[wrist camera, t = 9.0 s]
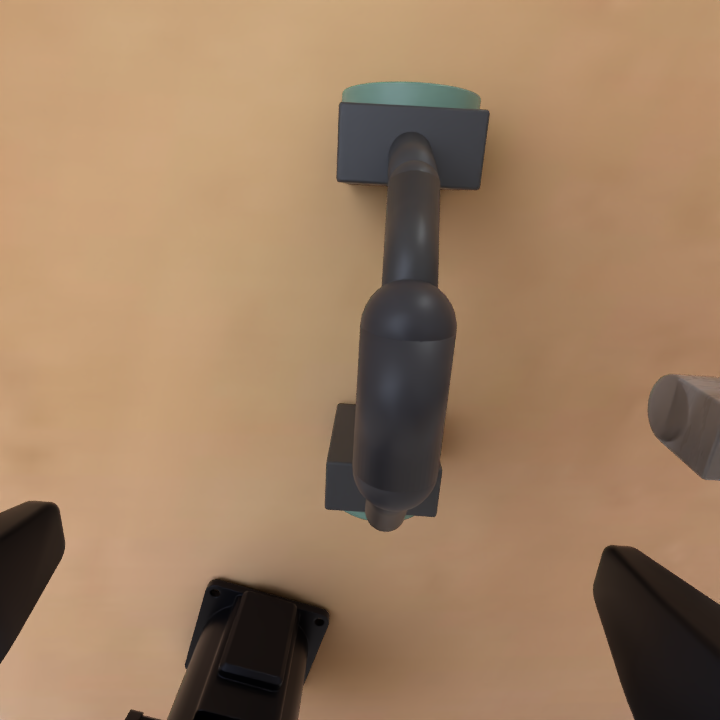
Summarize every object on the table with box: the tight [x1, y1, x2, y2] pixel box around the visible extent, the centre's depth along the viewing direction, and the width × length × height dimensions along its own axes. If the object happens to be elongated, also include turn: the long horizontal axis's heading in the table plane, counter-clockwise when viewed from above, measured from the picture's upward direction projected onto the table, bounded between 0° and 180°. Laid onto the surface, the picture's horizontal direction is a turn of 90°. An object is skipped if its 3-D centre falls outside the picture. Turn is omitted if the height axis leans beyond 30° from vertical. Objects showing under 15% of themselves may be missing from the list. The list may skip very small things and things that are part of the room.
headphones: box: [325, 82, 490, 532], centre depth 14 cm, size 4×14×10 cm, turn 177°
